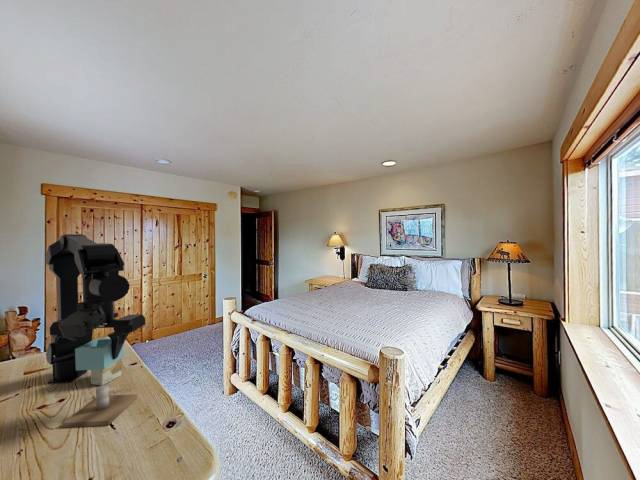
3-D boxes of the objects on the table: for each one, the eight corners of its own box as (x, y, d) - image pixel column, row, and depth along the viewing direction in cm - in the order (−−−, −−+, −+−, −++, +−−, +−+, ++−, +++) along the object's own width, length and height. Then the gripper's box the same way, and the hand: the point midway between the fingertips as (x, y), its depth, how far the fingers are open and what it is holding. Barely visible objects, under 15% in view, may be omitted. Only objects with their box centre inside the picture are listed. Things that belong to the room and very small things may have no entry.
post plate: (63, 427, 60) (62, 401, 60) (98, 399, 70) (97, 377, 70) (108, 425, 60) (107, 399, 60) (137, 397, 70) (136, 375, 70)
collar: (75, 370, 61) (75, 349, 61) (97, 357, 68) (97, 338, 68) (104, 369, 62) (103, 348, 62) (123, 356, 68) (122, 337, 68)
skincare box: (102, 386, 76) (101, 344, 76) (90, 384, 77) (88, 343, 77) (123, 374, 82) (122, 335, 82) (111, 373, 83) (110, 334, 83)
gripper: (22, 305, 56) (25, 378, 56) (113, 303, 57) (116, 375, 57) (70, 293, 67) (72, 354, 67) (145, 291, 68) (147, 352, 68)
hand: (100, 359), depth 65 cm, fingers closed on collar, 6 cm apart
